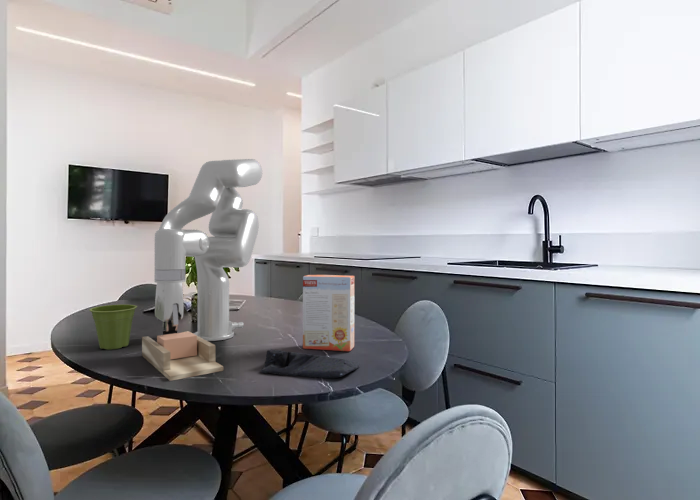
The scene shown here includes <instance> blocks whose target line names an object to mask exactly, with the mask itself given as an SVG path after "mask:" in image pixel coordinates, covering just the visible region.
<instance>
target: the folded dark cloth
mask: <svg viewBox="0 0 700 500" xmlns="http://www.w3.org/2000/svg"><path fill="white" fill-rule="evenodd" d="M358 368H360V363H359V362H358V361H355V360H351V359H345V358H339V357H330V356H323V355H316V354H310V353H303V352H295V351H292V352H291V351H285V350H278V349H271V348H270V349H268V350H267V351H266V355H265V360H264V366H263V368H262V369H260V370H259V371H260V372H261V373H262V374H267V375H268V374H275V375H281V376H290V377H291V376H292V377H297V376H300V377H311V378H322V379H323V378H324V379H327V378H328V379H333V378H335V379H338V378H341V377H343V376H345V375H347V374H349V373H351V372H354V371H355V370H357V369H358Z"/></svg>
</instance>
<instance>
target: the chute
mask: <svg viewBox="0 0 700 500" xmlns="http://www.w3.org/2000/svg"><path fill="white" fill-rule="evenodd" d="M185 332H190V331H189V330H187V331H185ZM196 336H197V335H196ZM141 357H143V358H144V359H145V360H146V361H147V362H148V363H150V364H151V365H152V366H153V367H154V368H155V369H156V370H157V371H158V372H159V373H161V374H162V375H163V376H164V377H165V378H166V379H168V381H170V382H172V381H177V380H182V379H187V378H192V377H193V378H194V377H198V376H202V375H207V374H212V373H213V374H214V373H219V372H223V371H224V366H223V365H222V364H220V363H219V362H216V344H214V343H212V342H211V341H206V340H204V339H202V338H201V337H199V336H197V355H195V356H189V357H183V358H177V359H171V360H170V351H168V350H167V349H165V348H164V347H163V346H161V345H160V344H158V343H157V340H156V341H155V340H154V339H152V338H151V337H150V336H141Z"/></svg>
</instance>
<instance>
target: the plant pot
mask: <svg viewBox="0 0 700 500" xmlns="http://www.w3.org/2000/svg"><path fill="white" fill-rule="evenodd" d="M137 308H138V305H135V304H127V303H126V304H123V303H122V304H120V303H119V304H106V305H100V306H95V307H91V308H89V312H91V316H92V319H93V322H94V325H95V330H96V335H97V341H98V345H99V348H100V349H101V350H103V349H104V350H108V351H109V350H111V351H112V350H118V349H121V348H122V347H128V346H129V343H130V338H131V332H132V331H131V330H132V325H133V319H134V316H135V311H136V309H137Z"/></svg>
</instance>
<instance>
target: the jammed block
mask: <svg viewBox="0 0 700 500" xmlns="http://www.w3.org/2000/svg"><path fill="white" fill-rule="evenodd" d="M193 333H194V332H193ZM193 333H192V332H191V331H189V332H186V331H182V332H177V333H174V334H167V335H163V334H161V335H160V334H159V335H156V342H157V343H158V344H160V345H161V346H163V347H164V348H165V349H167V350H168V351H170V360H171V359H177V358H183V357H189V356H195V355H197V336H196V335H195V334H193Z"/></svg>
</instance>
